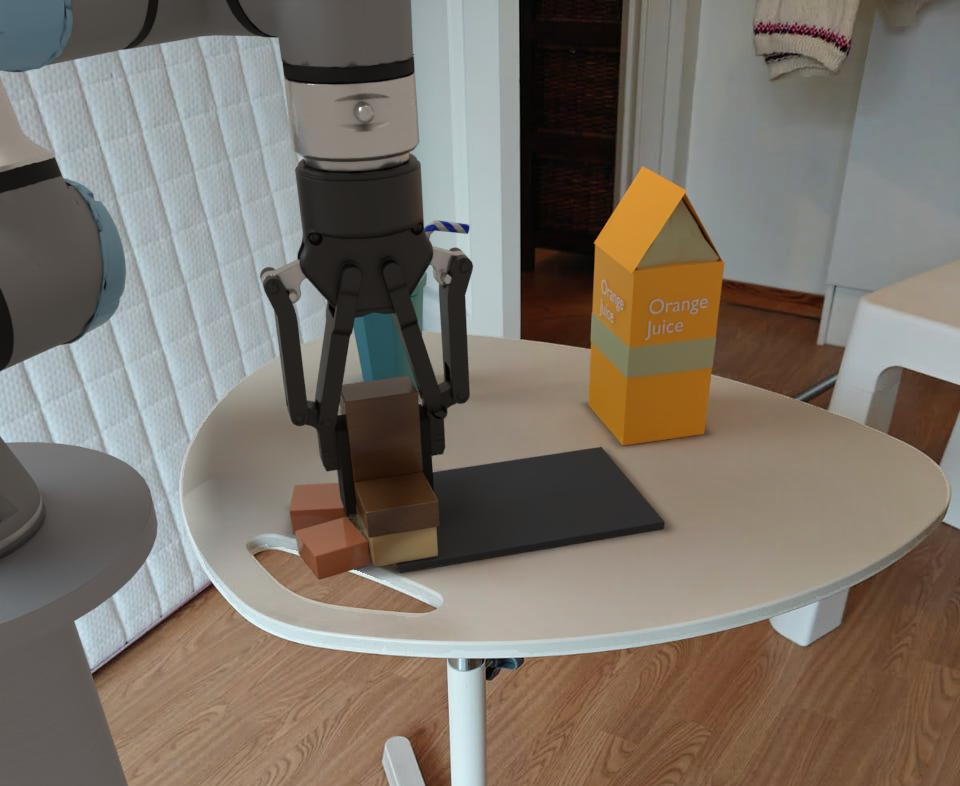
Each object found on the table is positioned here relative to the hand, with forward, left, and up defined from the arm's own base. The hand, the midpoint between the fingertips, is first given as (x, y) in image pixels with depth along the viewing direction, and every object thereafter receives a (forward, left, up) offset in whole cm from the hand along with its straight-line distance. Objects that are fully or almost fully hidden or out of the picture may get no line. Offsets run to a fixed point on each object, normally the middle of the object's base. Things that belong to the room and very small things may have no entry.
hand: (387, 499), depth 74 cm
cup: (+6, +26, -3) cm, 27 cm away
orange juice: (+25, +12, -3) cm, 28 cm away
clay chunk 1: (-5, +3, -3) cm, 6 cm away
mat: (+9, 0, -3) cm, 10 cm away
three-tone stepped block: (0, 0, -2) cm, 2 cm away
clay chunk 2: (-5, -3, -3) cm, 6 cm away
